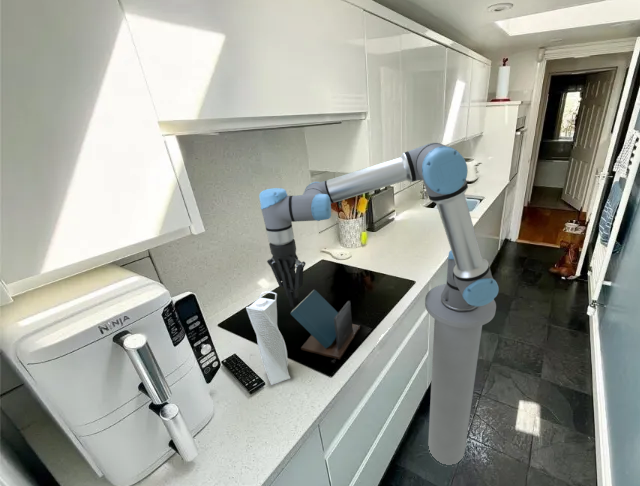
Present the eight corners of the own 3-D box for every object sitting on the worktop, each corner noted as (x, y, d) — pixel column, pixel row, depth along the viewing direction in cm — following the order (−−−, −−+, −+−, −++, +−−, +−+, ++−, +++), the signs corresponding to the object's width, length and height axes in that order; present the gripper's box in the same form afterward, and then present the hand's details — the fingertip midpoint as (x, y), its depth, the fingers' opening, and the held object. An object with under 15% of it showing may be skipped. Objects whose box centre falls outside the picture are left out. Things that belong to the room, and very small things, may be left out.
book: (347, 321, 107) (314, 289, 106) (330, 345, 97) (294, 309, 95) (342, 325, 109) (310, 293, 107) (325, 348, 99) (289, 313, 97)
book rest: (360, 327, 109) (357, 296, 103) (339, 359, 95) (335, 326, 90) (325, 320, 113) (321, 290, 108) (301, 349, 100) (294, 317, 94)
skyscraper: (291, 362, 95) (274, 284, 83) (296, 379, 89) (278, 298, 77) (264, 371, 92) (242, 293, 80) (268, 389, 86) (244, 307, 74)
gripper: (307, 238, 94) (317, 301, 105) (272, 233, 98) (285, 295, 109) (292, 248, 88) (304, 314, 98) (255, 243, 92) (271, 307, 102)
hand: (294, 304), depth 104 cm, fingers closed
